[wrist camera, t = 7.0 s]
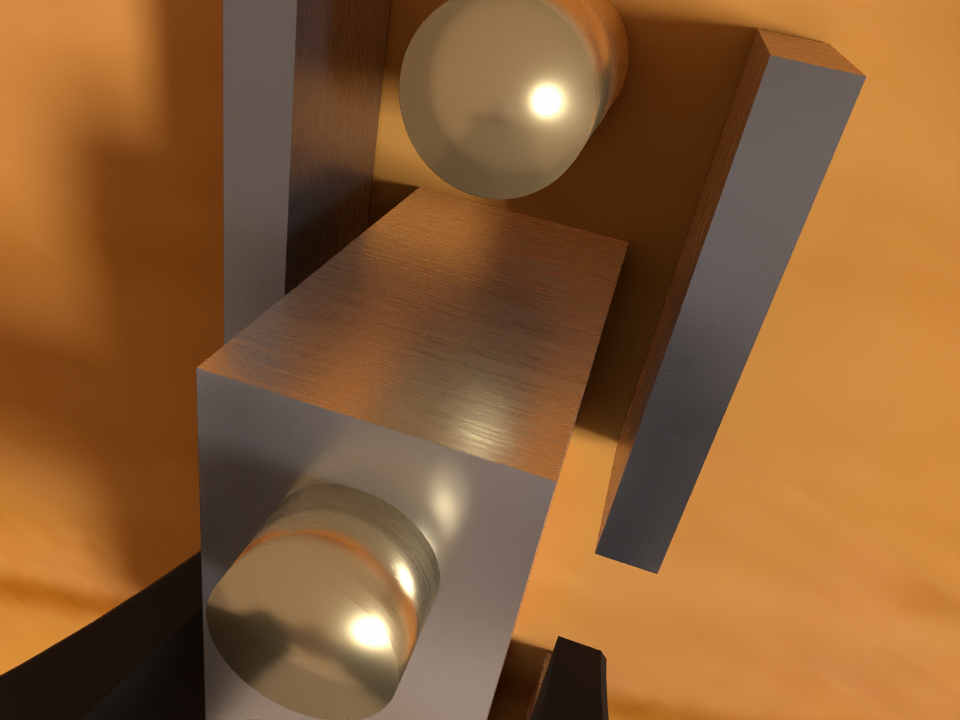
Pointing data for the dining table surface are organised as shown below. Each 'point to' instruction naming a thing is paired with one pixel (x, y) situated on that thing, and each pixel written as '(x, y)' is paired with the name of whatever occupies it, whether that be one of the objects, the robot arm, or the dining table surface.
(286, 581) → the block with brass knobs
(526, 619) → the dining table surface
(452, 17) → the end link
